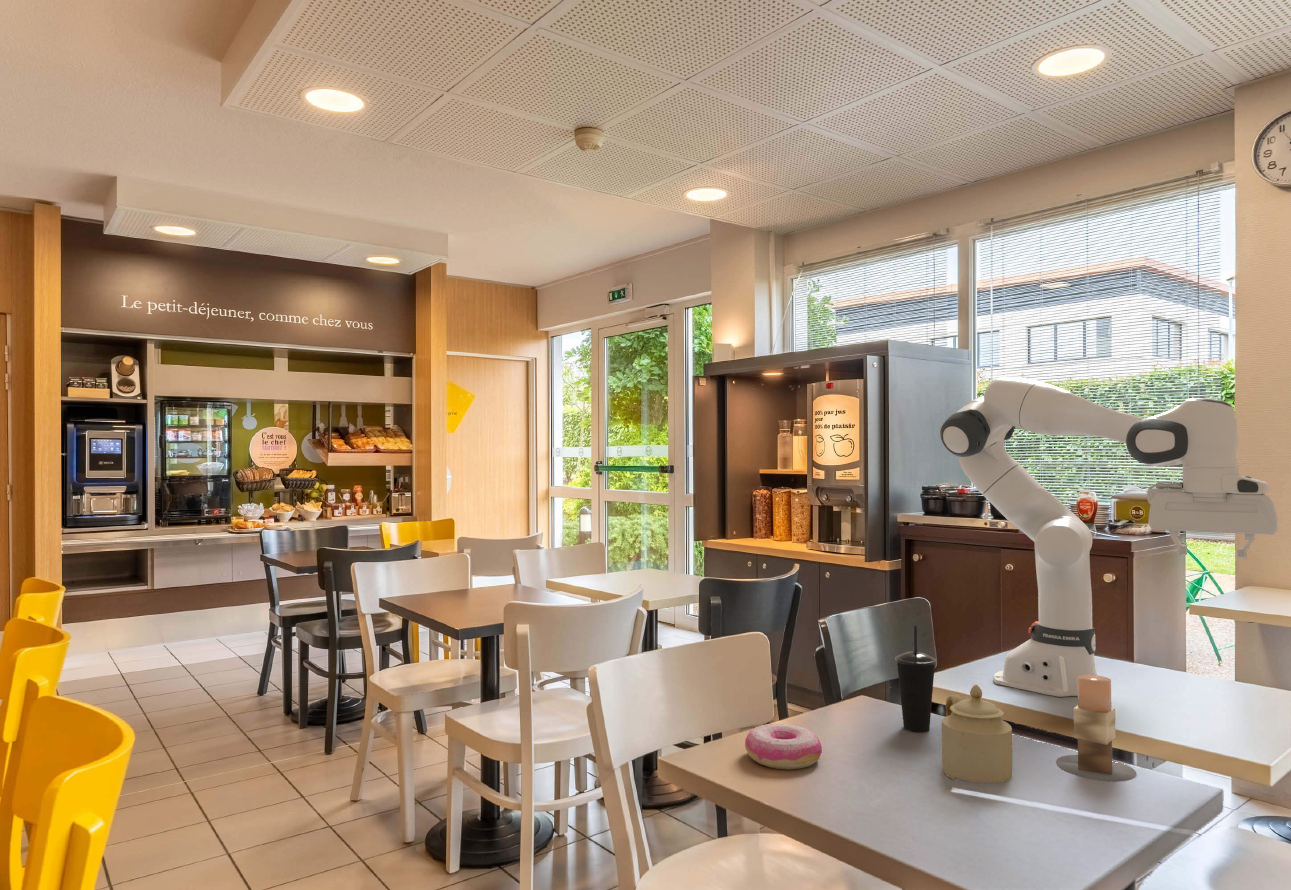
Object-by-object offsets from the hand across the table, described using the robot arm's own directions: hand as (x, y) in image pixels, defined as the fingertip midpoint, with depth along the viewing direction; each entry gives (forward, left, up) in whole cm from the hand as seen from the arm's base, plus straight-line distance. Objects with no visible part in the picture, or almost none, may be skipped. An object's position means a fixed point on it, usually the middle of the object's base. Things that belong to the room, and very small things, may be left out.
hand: (1211, 556), depth 156 cm
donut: (-58, -60, -34) cm, 90 cm away
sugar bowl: (-31, -45, -34) cm, 65 cm away
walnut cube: (-14, -32, -34) cm, 48 cm away
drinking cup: (-46, -29, -34) cm, 64 cm away
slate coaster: (-14, -32, -34) cm, 49 cm away
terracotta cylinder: (-14, -32, -24) cm, 42 cm away
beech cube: (-14, -32, -28) cm, 45 cm away
